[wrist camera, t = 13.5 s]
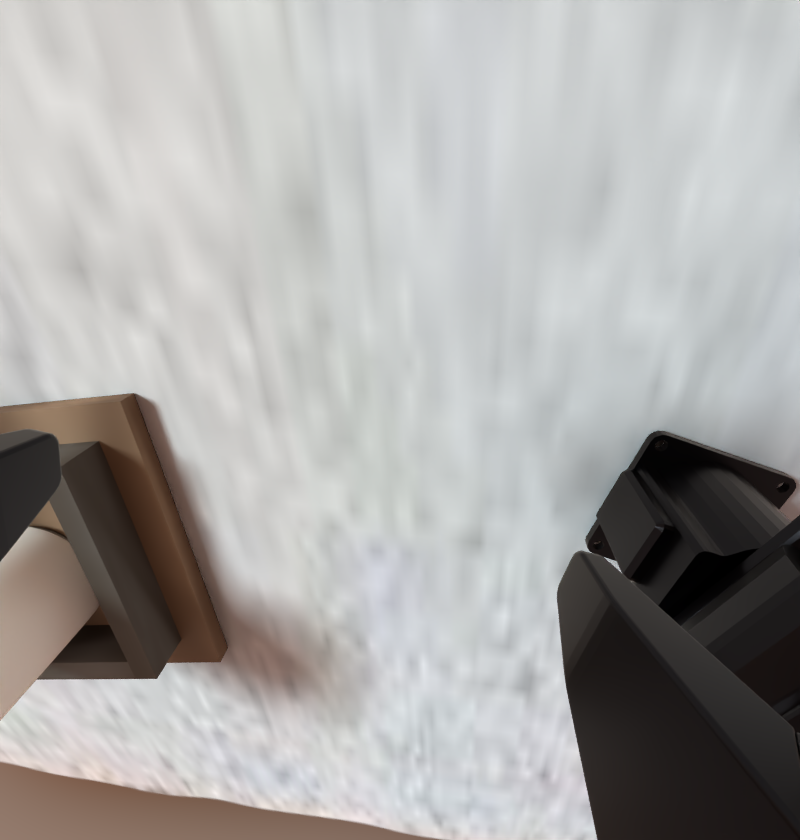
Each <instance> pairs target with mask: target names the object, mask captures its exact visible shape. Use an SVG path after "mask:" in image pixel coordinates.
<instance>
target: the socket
mask: <svg viewBox="0 0 800 840" xmlns="http://www.w3.org/2000/svg"><path fill="white" fill-rule="evenodd" d="M23 429H34V430H39V431H43V432H48V433H52V434H53V435H55V436H56V437H57V439H58V441H59V449H60V460H61V471H62V478H61V482H60V485H59V487H58V489H57V490H56V492H55V493H54V494H53V496H52V497H51V498H50V500H49V501H48V502H47V503H46V505H45V506H44V507H43V509H42V510H41V511H40V512H39V514H38V515H37V516H36V517H35V519H34V520H33V521H32V523H31V524H30V525H29V526H33V527H40V528H45V529H48V530H52V531H54V532H57V533H59V534H61V535H63V536H65V537H67V539H68V541H69V543H70V545H71V547H72V549H73V551H74V553H75V555H76V557H77V559H78V561H79V563H80V565H81V567H82V570H83V572H84V574H85V576H86V578H87V580H88V582H89V584H90V586H91V588H92V590H93V592H94V594H95V596H96V598H97V600H98V602H99V607H98V608H97V610H96V611H95V613H94V614H93V615H92V616H91V617H90V619H89V620H88V621H87V622H86V623H85V624H84V626H83V627H82V628H81V629H80V630H79V631H78V633H77V634H76V635H75V636H74V637H73V638H72V639H71V641H70V642H69V643H68V644H67V645H66V646H65V647H64V649H63V650H62V651H61V652H60V653H59V654H58V656H57V657H56V658H55V659H54V660H53V661H52V662H51V664H50V665H49V666H48V667H47V668H46V669H45V670H44V671H43V673H42V674H41V675H40V676H39V677H38V678H37V679H157V678H158V676H159V675H160V673H161V671H162V670H163V668H164V667H165V665H166V663H182V662H221V660H222V658H223V656H224V654H225V652H226V650H227V648H228V647H227V644H226V641H225V639H224V636H223V633H222V631H221V628H220V625H219V622H218V620H217V617H216V614H215V612H214V609H213V606H212V604H211V601H210V598H209V595H208V593H207V590H206V587H205V585H204V582H203V579H202V577H201V574H200V571H199V568H198V566H197V563H196V560H195V558H194V555H193V552H192V550H191V547H190V544H189V541H188V539H187V536H186V533H185V531H184V528H183V525H182V523H181V520H180V517H179V514H178V512H177V509H176V506H175V504H174V501H173V498H172V496H171V493H170V490H169V487H168V485H167V482H166V479H165V477H164V474H163V471H162V469H161V466H160V463H159V460H158V458H157V455H156V452H155V450H154V447H153V444H152V442H151V439H150V436H149V433H148V431H147V428H146V425H145V423H144V420H143V417H142V415H141V412H140V409H139V406H138V404H137V401H136V398H135V396H134V393H132V394H122V395H112V396H102V397H92V398H82V399H72V400H62V401H53V402H43V403H33V404H23V405H13V406H3V407H0V434H3V433H8V432H13V431H18V430H23Z"/></svg>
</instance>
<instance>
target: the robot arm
mask: <svg viewBox="0 0 800 840" xmlns="http://www.w3.org/2000/svg"><path fill="white" fill-rule="evenodd" d="M661 440H664V444H662V445H661V446H659V447H655V444H656V443H657V442H658V441H661ZM61 478H62V471H61V460H60V449H59V441H58V439H57V437H56V436H55V435H53V434H52V433H48V432H43V431H39V430H34V429H23V430H18V431H13V432H8V433H3V434H0V562H1V560H2V559H3V558H4V557H5V556H6V554H7V553H8V552H9V551H10V549H11V548H12V547H13V546H14V544H15V543H16V542H17V541H18V539H19V538H20V537H21V535H22V534H23V533H24V532H25V530H26V529H27V528H28V526H29V525H30V524H31V523H32V521H33V520H34V519H35V517H36V516H37V515H38V514H39V512H40V511H41V510H42V509H43V507H44V506H45V505H46V503H47V502H48V501H49V500H50V498H51V497H52V496H53V494H54V493H55V492H56V490H57V489H58V487H59V485H60V482H61ZM783 482H784V483H783ZM780 483H783V485H782V486H780V487H778V488H776V487H777V485H779V484H780ZM795 488H796V483H795V481H794V480H793V479H792V478H791V477H790V476H788V475H787V474H785V473H783V472H780V471H777V470H774V469H771V468H768V467H765V466H762V465H760V464H757V463H754V462H751V461H748V460H745V459H742V458H739V457H736V456H734V455H731V454H728V453H725V452H722V451H719V450H716V449H713V448H710V447H708V446H705V445H702V444H699V443H696V442H693V441H690V440H687V439H685V438H682V437H679V436H676V435H673V434H670V433H667V432H664V431H656V432H653V433H651V434H650V435H649V436H648V437H647V438H646V440H645V442H644V443H643V445H642V447H641V448H640V450H639V451H638V453H637V455H636V456H635V458H634V460H633V461H632V463H631V464H630V466H629V468H628V469H627V470H625V471H623V472H622V473H621V475H620V476H619V478H618V480H617V481H616V483H615V485H614V486H613V488H612V490H611V491H610V493H609V495H608V496H607V498H606V499H605V501H604V503H603V504H602V506H601V508H600V509H599V511H598V513H597V515H596V516H597V520H596V522H595V523H594V525H593V526H592V528H591V530H590V531H589V533H588V535H587V536H586V539H585V541H586V545H587V548H588V549H589V551H590V552H592V553H589V552H585V551H578V552H576V553H575V554H574V555H573V557H572V559H571V561H570V563H569V565H568V567H567V569H566V571H565V573H564V575H563V577H562V580H561V582H560V584H559V587H558V591H557V603H558V614H559V624H560V635H561V645H562V655H563V666H564V675H565V682H566V688H567V694H568V699H569V704H570V709H571V714H572V718H573V723H574V728H575V733H576V738H577V743H578V748H579V752H580V757H581V762H582V767H583V772H584V777H585V782H586V786H587V791H588V796H589V801H590V806H591V811H592V815H593V820H594V825H595V830H596V835H597V840H800V515H799V516H798V517H797V518H796V519H795V520H793V521H792V522H791V521H790V520H789V519H788V518H787V517H786V516H785V515H784V514H783V513H782V512H781V511H780V510H779V509H780V508H781V507H782V505H783V504H784V503H785V502H786V500H787V499H788V498H789V497H790V496H791V494H792V493H793V492H794V490H795ZM596 541H601V542H600V543H599V544H593V543H594V542H596ZM604 557H606V558H609V559H612V560H615V561H617V563H618V565H619V567H620V570H621V572H622V573H621V572H620V571H618V570H617V569H616V568H615V567H614V566H613V565H612V564H611V563H610V562H608V561H607V560H606V559H605V558H604Z"/></svg>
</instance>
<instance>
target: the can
mask: <svg viewBox="0 0 800 840" xmlns="http://www.w3.org/2000/svg"><path fill="white" fill-rule="evenodd" d="M98 607H99V602H98V600H97V598H96V596H95V594H94V592H93V590H92V588H91V586H90V584H89V582H88V580H87V578H86V576H85V574H84V572H83V570H82V567H81V565H80V563H79V561H78V559H77V557H76V555H75V553H74V551H73V549H72V547H71V545H70V543H69V541H68V539H67V537H65V536H63V535H61V534H59V533H57V532H54V531H52V530H48V529H45V528H40V527H33V526H28V528H27V529H26V530H25V532H24V533H23V534H22V535H21V537H20V538H19V539H18V541H17V542H16V543H15V544H14V546H13V547H12V548H11V549H10V551H9V552H8V553H7V554H6V556H5V557H4V558H3V559H2V560H1V562H0V720H1V719H2V718H3V717H4V716H5V715H6V714H7V712H8V711H9V710H10V709H11V708H12V707H13V706H14V704H15V703H16V702H17V701H18V700H19V699H20V698H21V697H22V695H23V694H24V693H25V692H26V691H27V690H28V689H29V687H30V686H31V685H32V684H33V683H34V682H35V681H36V679H37V678H38V677H39V676H40V675H41V674H42V673H43V671H44V670H45V669H46V668H47V667H48V666H49V665H50V664H51V662H52V661H53V660H54V659H55V658H56V657H57V656H58V654H59V653H60V652H61V651H62V650H63V649H64V647H65V646H66V645H67V644H68V643H69V642H70V641H71V639H72V638H73V637H74V636H75V635H76V634H77V633H78V631H79V630H80V629H81V628H82V627H83V626H84V624H85V623H86V622H87V621H88V620H89V619H90V617H91V616H92V615H93V614H94V613H95V611H96V610H97V608H98Z"/></svg>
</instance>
